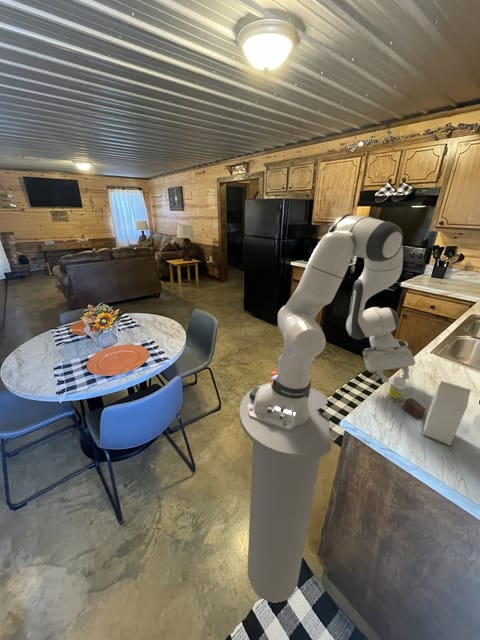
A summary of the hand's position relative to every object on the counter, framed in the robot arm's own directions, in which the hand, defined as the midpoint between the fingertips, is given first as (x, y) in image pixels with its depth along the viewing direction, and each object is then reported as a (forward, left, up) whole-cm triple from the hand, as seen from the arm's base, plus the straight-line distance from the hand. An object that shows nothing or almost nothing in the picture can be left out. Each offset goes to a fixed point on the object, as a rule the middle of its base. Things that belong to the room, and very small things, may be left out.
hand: (396, 380), depth 101 cm
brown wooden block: (+5, -9, -7) cm, 12 cm away
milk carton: (+9, -17, -7) cm, 21 cm away
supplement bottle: (+1, -1, -7) cm, 7 cm away
